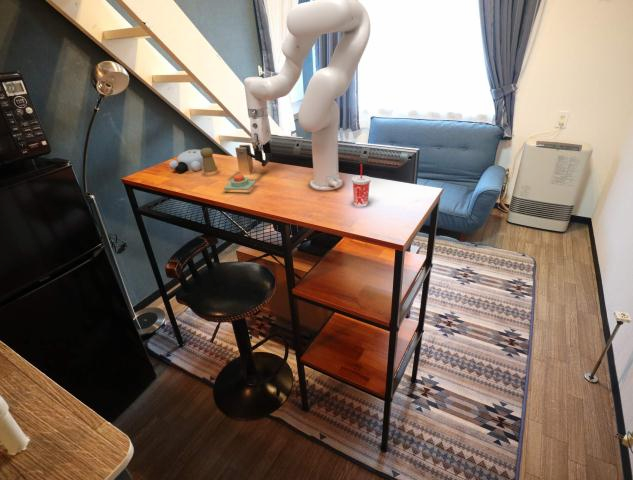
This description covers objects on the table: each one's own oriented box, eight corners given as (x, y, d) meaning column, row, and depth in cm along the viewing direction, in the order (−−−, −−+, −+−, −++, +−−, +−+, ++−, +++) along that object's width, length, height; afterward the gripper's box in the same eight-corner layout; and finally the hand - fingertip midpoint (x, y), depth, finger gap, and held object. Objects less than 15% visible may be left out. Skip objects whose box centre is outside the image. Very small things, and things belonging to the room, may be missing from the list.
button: (245, 179, 133) (244, 174, 132) (241, 182, 130) (241, 178, 129) (236, 178, 133) (236, 174, 133) (233, 182, 130) (232, 177, 130)
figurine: (190, 160, 168) (165, 179, 153) (184, 143, 163) (158, 161, 148) (221, 162, 164) (198, 181, 149) (216, 144, 159) (192, 163, 143)
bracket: (264, 173, 148) (260, 143, 142) (257, 180, 141) (252, 149, 134) (238, 172, 151) (233, 143, 144) (230, 179, 143) (224, 149, 137)
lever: (267, 164, 144) (269, 159, 142) (263, 168, 140) (265, 163, 138) (241, 149, 143) (243, 144, 141) (237, 153, 139) (238, 148, 137)
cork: (220, 170, 154) (215, 146, 148) (215, 175, 149) (209, 150, 143) (207, 171, 155) (201, 146, 149) (202, 175, 150) (196, 150, 144)
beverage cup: (348, 202, 117) (348, 162, 110) (364, 198, 119) (364, 159, 112) (357, 209, 113) (357, 168, 105) (373, 205, 115) (374, 164, 107)
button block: (256, 185, 136) (255, 176, 134) (249, 193, 129) (247, 183, 127) (233, 185, 138) (231, 175, 136) (224, 193, 131) (222, 183, 129)
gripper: (259, 117, 123) (265, 163, 132) (274, 108, 137) (278, 150, 146) (240, 117, 124) (246, 163, 133) (256, 108, 139) (261, 150, 148)
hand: (263, 156), depth 140 cm, fingers open, 9 cm apart
